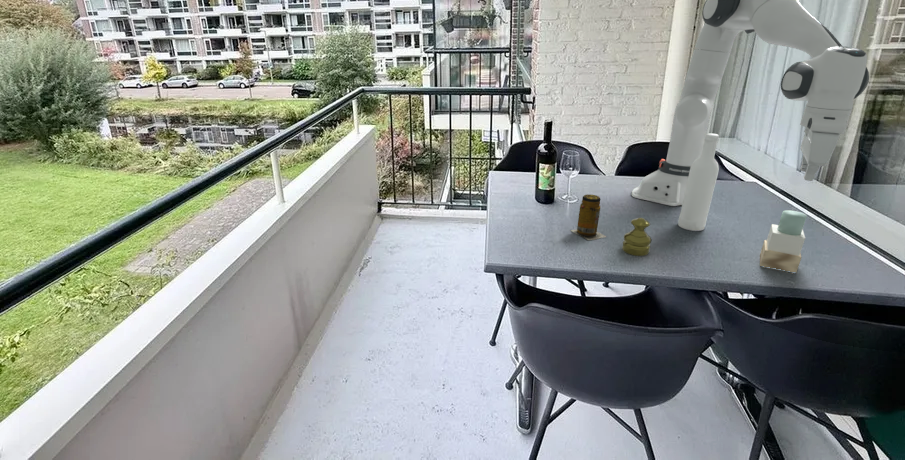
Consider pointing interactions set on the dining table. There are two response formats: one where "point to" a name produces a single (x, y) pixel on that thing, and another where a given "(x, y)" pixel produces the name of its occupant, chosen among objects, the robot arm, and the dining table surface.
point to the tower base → (779, 259)
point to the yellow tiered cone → (637, 238)
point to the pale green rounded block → (791, 222)
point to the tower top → (784, 241)
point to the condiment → (589, 218)
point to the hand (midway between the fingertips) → (805, 175)
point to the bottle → (700, 187)
